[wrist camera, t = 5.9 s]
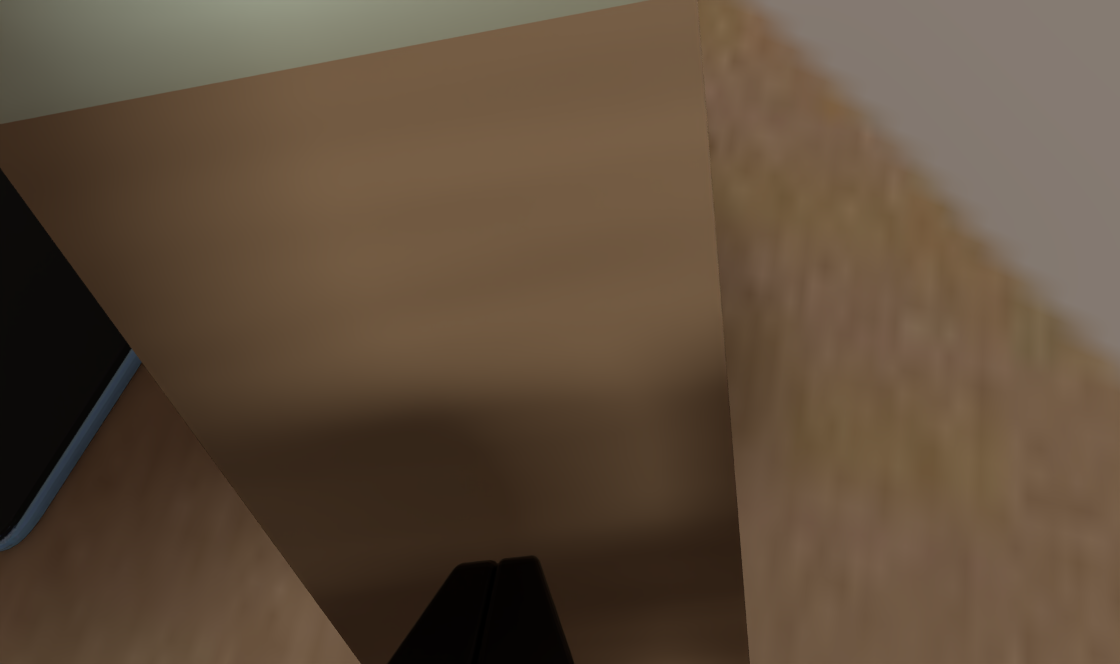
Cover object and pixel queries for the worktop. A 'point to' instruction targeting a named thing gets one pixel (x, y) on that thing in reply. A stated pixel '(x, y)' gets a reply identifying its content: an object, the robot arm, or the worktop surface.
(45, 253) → the smartphone
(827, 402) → the worktop surface
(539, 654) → the robot arm
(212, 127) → the beige wooden block
